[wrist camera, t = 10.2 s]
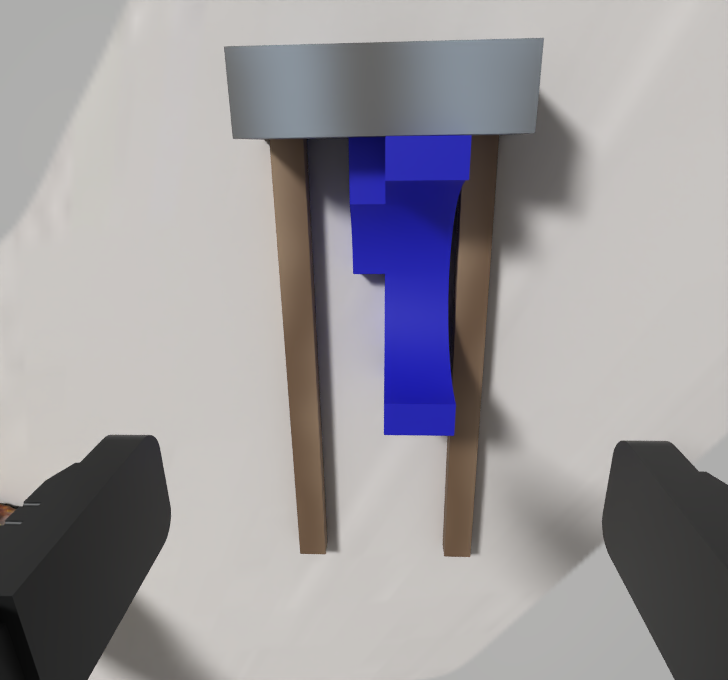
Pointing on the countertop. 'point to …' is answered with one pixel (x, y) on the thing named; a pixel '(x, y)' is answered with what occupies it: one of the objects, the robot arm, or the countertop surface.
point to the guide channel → (379, 119)
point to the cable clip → (410, 266)
